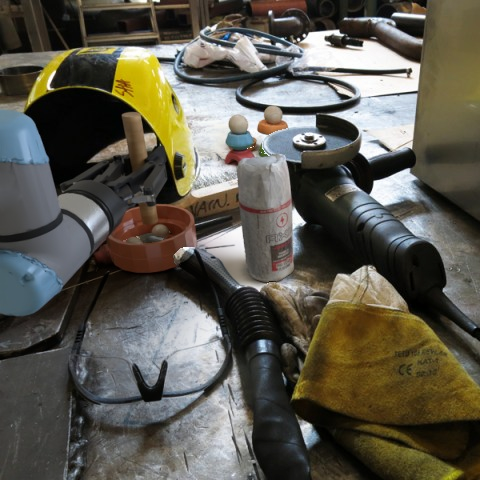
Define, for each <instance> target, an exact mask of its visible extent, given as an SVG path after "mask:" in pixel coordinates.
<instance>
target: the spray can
mask: <svg viewBox="0 0 480 480" xmlns="http://www.w3.org/2000/svg"><path fill="white" fill-rule="evenodd" d="M236 177H237V188H238V189H237V191H238V206H239V215H240V222H241V223H240V225H241V232H242V240H243V248H244V254H245V255H244V257H245V263H246V272H247V274H248V276H249V277H251V278H252V279H253V280H255V281H259V282H263V283H270V282H269V281H276V282H279V281H281V280H284V279H285V278H286V277H288V276H290V275H291V274H293V272H294V270H295V263H294V229H293V228H294V227H293V226H294V225H293V224H294V223H293V203H292V200H293V199H292V191H291V180H290V171H289V168H288V163H287V159H286V155H285V154H282V153H279V152H277V154H272V155H271V156H269V157H261V156H255V157H253V158H244V159H242V160H241V161H240V162H239V164H238V163H237V167H236Z"/></svg>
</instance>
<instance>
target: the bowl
mask: <svg viewBox="0 0 480 480" xmlns="http://www.w3.org/2000/svg"><path fill="white" fill-rule="evenodd" d="M156 210H157V216H158V222H157V223H155V224H152V225H145V224H143V223H142V220H141V215H140V209H139V206H134V207H133V208H132V209H129V210H127V211H126V212H125V214H124V217H123V219H122V222H121V223H120V225H119V226H118V227H117V228H116V229H115V230H114V231H113V232H112V234H111V235H110V236H109V237H108V238H106V240H105V241H106V245H107V249H108V253H109V259H110V260H111V261H112V263H113V265H114V266H116V267H118V268H119V269H121V270H123V271H127V272H131V273H136V274H141V273H142V274H144V273H145V274H151V273H158V272H163V271H167V270H170V269H173V268H176V267H178V266H180V265H179V264H177V265H176V264H175V263H174V258H173V255H174V254H175V253H176V252H177V251H178V250H179V249H180V248H183V247H196V249H198V240H197V239H198V238H197V233H196V232H197V231H196V223H195V218H194V214H192V213H191V212H190V211H189V210H188V209H186V208H183V207H181V206H179V205H173V204H169V203H168V204H167V203H164V204H162V203H156ZM159 224H162V225H165V226H166V227H167V228H168V229H169V231H170V232H172V234H170V233H169V236H168V238H167V239H166V240H162V241H159V242H152V243H128V242H123V240H126V239H129V238H131V237H136V236H140V235H143V234H146V233H151V232H152V229H153V227H154V226H156V225H159Z"/></svg>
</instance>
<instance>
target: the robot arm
mask: <svg viewBox="0 0 480 480" xmlns="http://www.w3.org/2000/svg"><path fill="white" fill-rule="evenodd" d="M147 156H148V157H147V158H146V159H144V161H145V164H144V165H143V166H141V167H140V168H138V169H137V170H135V171H134V172H132V167H131V162H130V156H129V153H128V154H126V155H124V156H123V157H122V155H121V154H115V155H113V156H112V158H113V161H112V162H110V161H109V160H106V159H105V160H101V161H100V162H98V163H96V164H95V165H93V166H92V167H90V168H88V169H87V170H85V171H83V172H82V173H80V174H78V175H77V176H75V177H74V178H71V179H69V180H66V181H64V182H61V183H60V184H59V187H60V191H61V193H60V194H59V195H58V194H57V189H56V186H55V182H54V178H53V174H52V170H51V166H50V158H49V156H48V155H47V153H46V150H45V146H44V144H43V141H42V138H41V135H40V134H39V130H38V128H37V126H36V123H35V121H34V120H33V119H32V117H30V116H28V115H26V114H25V113H23V112H21V111H18V110H15V109H14V110H13V109H5V108H0V314H1V315H5V316H14V317H24V316H31V315H32V314H34V313H36V312H38V311H39V310H41V309H42V308H43V307H44V306H45V305H46V304H47V303H48V302H49V301H51V300H52V299H53V298H54V297H55V296H57V295H58V294H59V293H61V291H62V290H63V287H64V286H65V285H66V284H67V283H68V282H69V280H70V279H71V278H72V277H73V276H74V275H75V274H76V273H77V272H78V270H79V269H81V268H82V266H84V264H85V263H86V261H88V260H89V258H90V257H91V256H92V255H93V254H94V253H95V252H96V251H97V250H98V249H99V248H100V246H102V244H104V242H105V241H106V238H108V237H109V236H110V235H111V234H112V232H113V231H114V230H115V229H116V228H117V227H118V226H119V225H120V223H121V222H122V219H123V217H124V214H125V212H126V211H127V210H129V209H132V208H135V207H136V204H138V203H141V202H143V203H147V206H149V207H152V206H155V205H156V204H157V200H156V199H157V197H158V196H159V193H160V192H161V191H162V189H163V187H164V185H165V184H166V183H167V180H168V174H167V168H166V162H167V154H166V149H165V145H161V144H160V145H158V147H156V148H155V149H154V150H153V151H152V152H151V153H150V154H149V155H147ZM136 193H137V194H136Z"/></svg>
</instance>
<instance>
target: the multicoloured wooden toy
mask: <svg viewBox="0 0 480 480" xmlns="http://www.w3.org/2000/svg"><path fill="white" fill-rule="evenodd" d="M227 124H228V129H229V132H227V136H226V138H225V142H224V143H225V145H226V146H227V147H228V149H229V151H228V152H227V154H226V155H225V158H224V164H225V165H228V164H230V163H233V162H237V165H238V164H239V162H240V161H241V160H242V159H244V158H253V157H256V155H255V154H254V152H253V151H254V150H255V149H256V147H257V141H258V140H257V138H256V137H254V136H252V134H251V132H250V131H249V129H248V128H249V120H248V119H247V118H246V116H244V115H242V114H234V115H232V116H231V117H230V118H229V120H228V123H227ZM286 128H288V129H289V125H288V123H287V122H286V121H285V120H283V111H282V109H281V108H280V107H278V106H277V105H270V106H267V107H266V108H265V110H264V111H263V119H261V120H259V122H258V123H257V127H256V131H257V132H258V133H260V134H262V135H265V136H270V135H269V134H271V133H273V132H275V131H278V130H282V129H286ZM253 146H254V147H253ZM250 147H252V148H250ZM247 148H248V149H247ZM259 151H260V152H259ZM261 152H262V153H261ZM264 153H265V152H264V150H263V149H262V142H260V145H259V148H258V153H257V154H258V157H269V156H268V155H267V154H264Z"/></svg>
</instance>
